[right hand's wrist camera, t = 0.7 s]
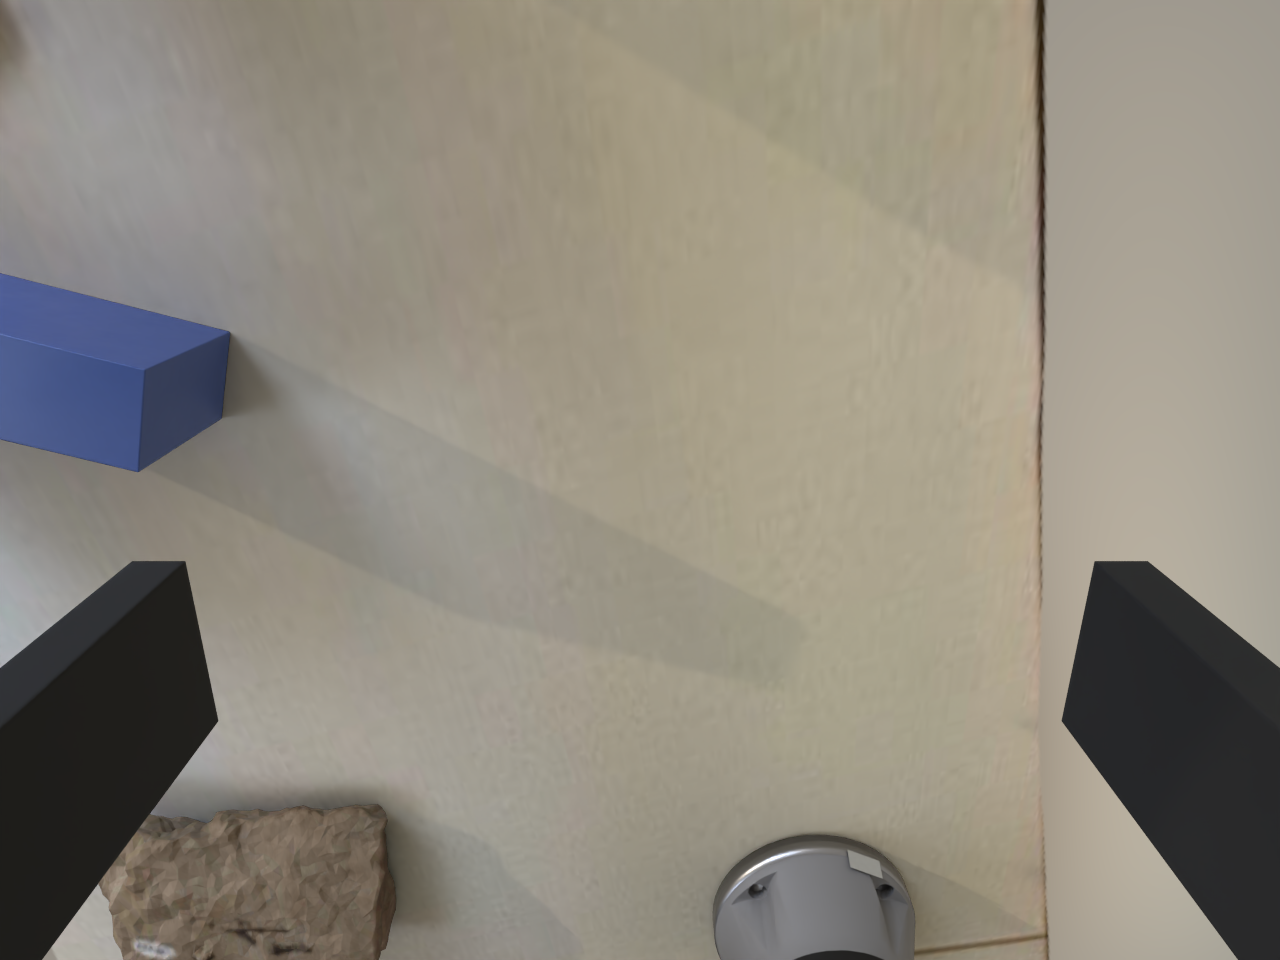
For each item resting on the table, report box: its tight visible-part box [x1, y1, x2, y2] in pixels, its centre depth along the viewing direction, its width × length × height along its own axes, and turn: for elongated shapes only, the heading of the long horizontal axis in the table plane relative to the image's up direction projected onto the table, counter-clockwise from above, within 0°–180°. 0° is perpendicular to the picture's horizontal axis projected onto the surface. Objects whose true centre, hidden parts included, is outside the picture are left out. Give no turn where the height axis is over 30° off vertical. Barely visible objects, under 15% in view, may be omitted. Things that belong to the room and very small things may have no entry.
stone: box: [99, 804, 396, 960], centre depth 64 cm, size 21×15×6 cm
